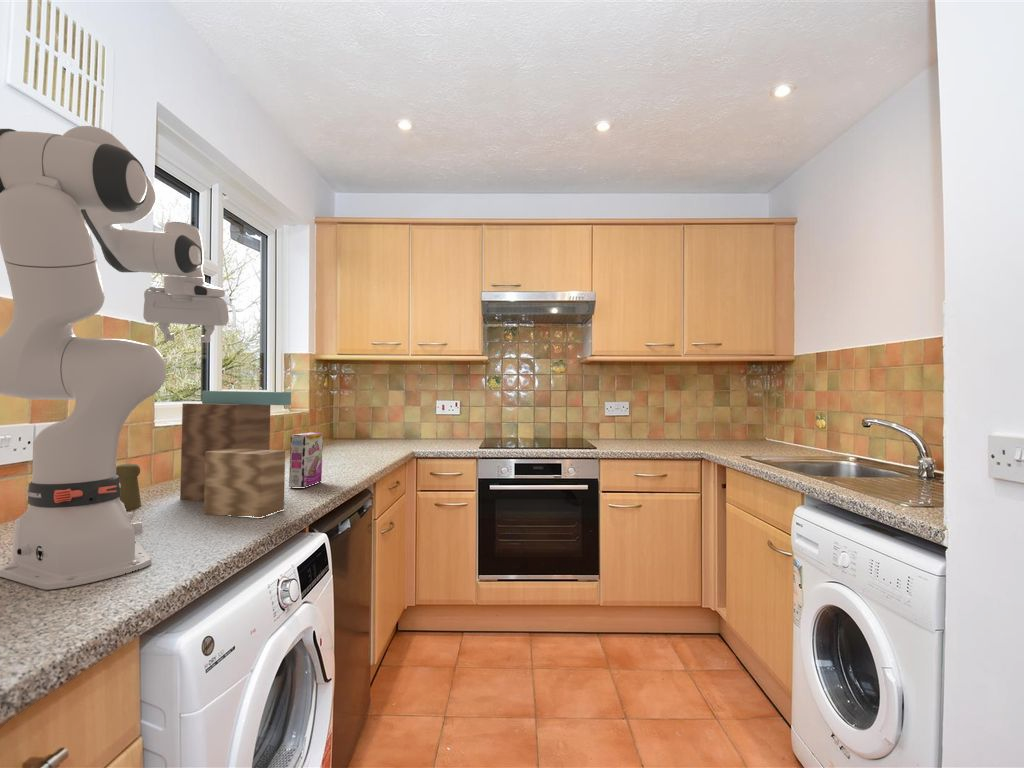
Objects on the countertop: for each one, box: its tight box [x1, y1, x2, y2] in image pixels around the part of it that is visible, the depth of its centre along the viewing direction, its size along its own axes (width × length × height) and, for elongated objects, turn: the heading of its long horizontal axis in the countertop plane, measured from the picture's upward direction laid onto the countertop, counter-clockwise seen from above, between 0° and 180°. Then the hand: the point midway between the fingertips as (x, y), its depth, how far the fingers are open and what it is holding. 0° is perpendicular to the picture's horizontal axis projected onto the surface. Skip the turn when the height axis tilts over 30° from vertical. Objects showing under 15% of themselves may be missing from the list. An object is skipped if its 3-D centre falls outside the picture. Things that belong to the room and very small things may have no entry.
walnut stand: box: [179, 402, 271, 502], centre depth 138 cm, size 18×12×26 cm, turn 77°
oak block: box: [203, 448, 286, 517], centre depth 121 cm, size 16×8×15 cm, turn 77°
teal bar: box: [201, 390, 292, 406], centre depth 137 cm, size 26×4×4 cm, turn 77°
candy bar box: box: [288, 432, 324, 488], centre depth 155 cm, size 11×5×16 cm, turn 172°
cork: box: [116, 463, 142, 511], centre depth 123 cm, size 6×6×11 cm
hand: (187, 341), depth 130 cm, fingers open, 8 cm apart
